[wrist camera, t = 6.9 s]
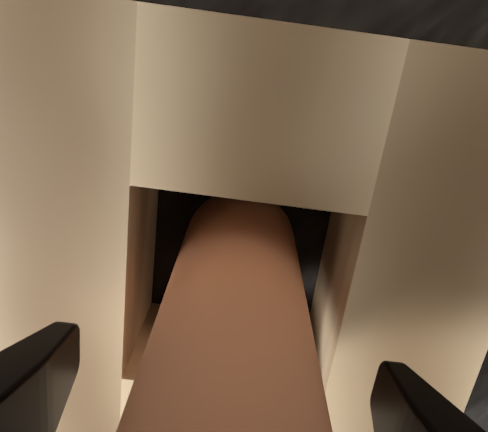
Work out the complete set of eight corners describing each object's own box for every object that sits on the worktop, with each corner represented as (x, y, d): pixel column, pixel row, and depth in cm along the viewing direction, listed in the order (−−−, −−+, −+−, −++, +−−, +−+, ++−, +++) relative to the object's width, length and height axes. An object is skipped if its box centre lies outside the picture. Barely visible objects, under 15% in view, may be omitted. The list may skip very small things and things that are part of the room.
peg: (182, 281, 14) (81, 623, 6) (191, 183, 13) (82, 436, 5) (284, 294, 14) (326, 648, 6) (302, 197, 13) (383, 471, 5)
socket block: (43, 378, 16) (-12, 467, 13) (30, -8, 12) (-59, -27, 8) (389, 419, 16) (424, 516, 13) (502, 57, 12) (596, 64, 9)
